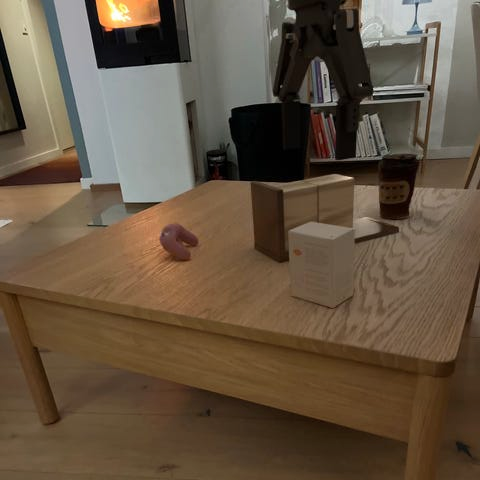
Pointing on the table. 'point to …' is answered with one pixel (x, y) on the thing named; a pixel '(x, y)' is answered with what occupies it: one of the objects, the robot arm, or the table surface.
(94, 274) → the table surface
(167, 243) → the pink curved tube
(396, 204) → the coffee cup
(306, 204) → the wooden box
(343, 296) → the small box
